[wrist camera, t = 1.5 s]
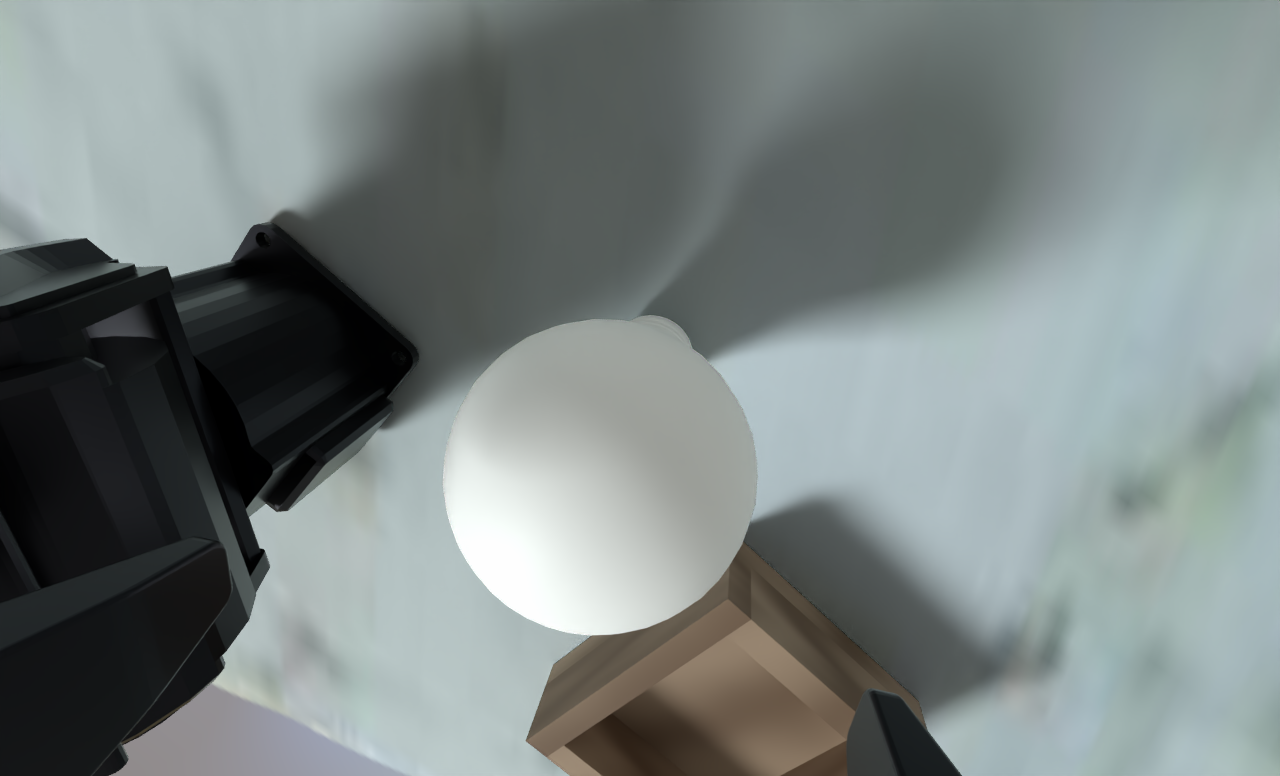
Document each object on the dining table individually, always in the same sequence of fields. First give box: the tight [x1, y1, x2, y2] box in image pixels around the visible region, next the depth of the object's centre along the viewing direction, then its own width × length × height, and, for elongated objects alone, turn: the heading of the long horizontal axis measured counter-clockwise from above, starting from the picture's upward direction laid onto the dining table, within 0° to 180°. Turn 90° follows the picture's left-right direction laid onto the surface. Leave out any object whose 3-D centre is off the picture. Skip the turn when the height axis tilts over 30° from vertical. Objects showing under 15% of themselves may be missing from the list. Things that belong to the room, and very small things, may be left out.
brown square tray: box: [526, 542, 927, 776], centre depth 23 cm, size 10×10×4 cm
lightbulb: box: [443, 315, 757, 635], centre depth 15 cm, size 6×6×11 cm
